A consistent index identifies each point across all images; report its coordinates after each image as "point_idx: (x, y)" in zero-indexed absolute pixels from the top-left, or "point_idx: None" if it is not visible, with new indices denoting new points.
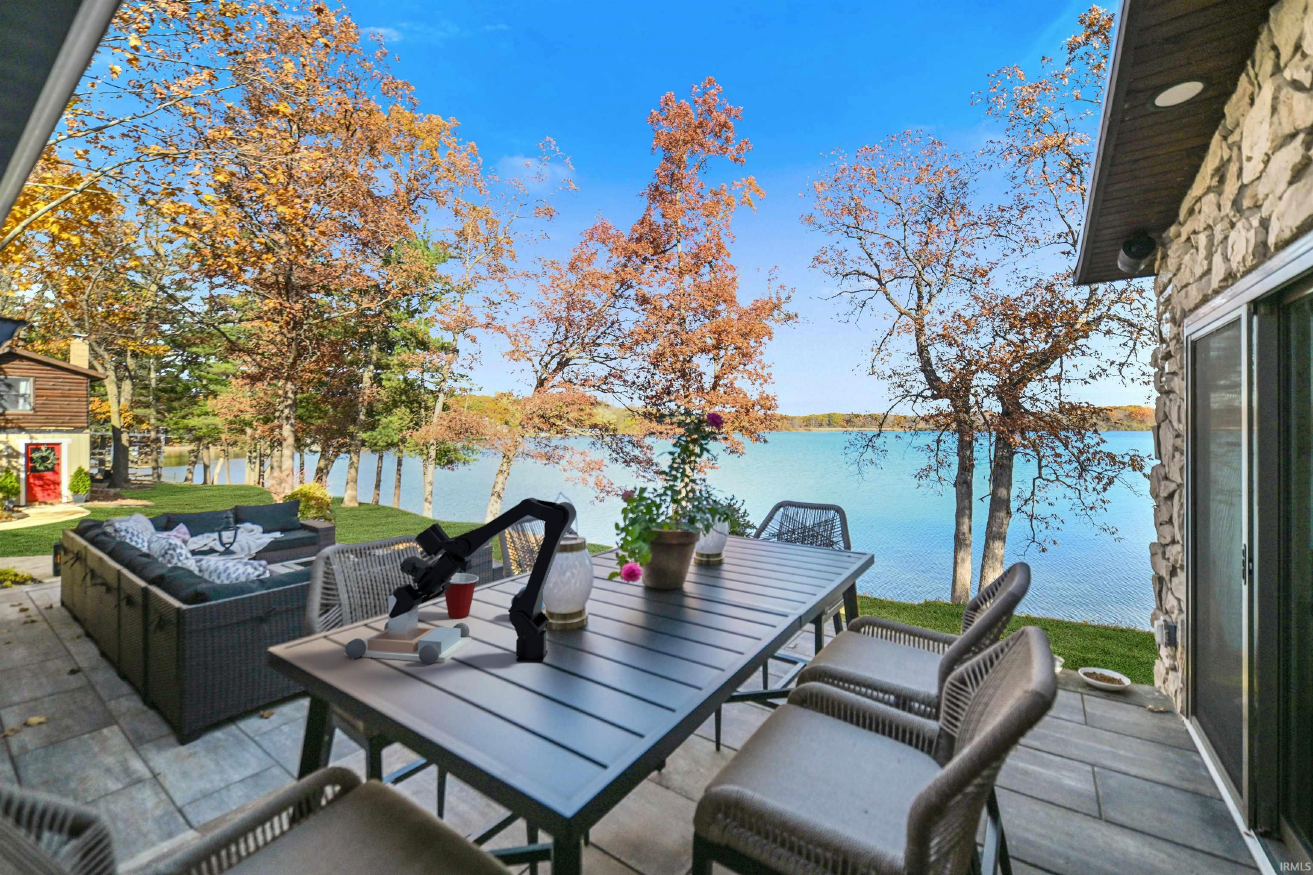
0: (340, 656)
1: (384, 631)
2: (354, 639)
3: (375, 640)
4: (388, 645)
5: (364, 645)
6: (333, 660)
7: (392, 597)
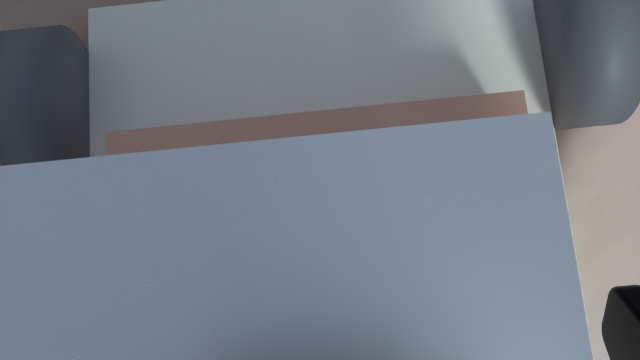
0: (84, 12)
1: (336, 127)
2: (16, 60)
3: None
4: None
5: None
6: (12, 21)
7: (11, 276)
